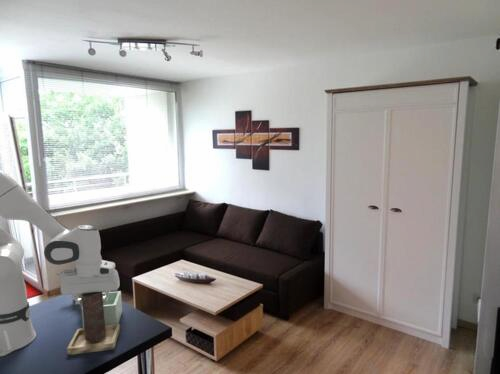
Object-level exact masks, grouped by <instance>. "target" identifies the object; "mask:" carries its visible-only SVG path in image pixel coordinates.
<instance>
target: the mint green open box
mask: <svg viewBox="0 0 500 374" xmlns="http://www.w3.org/2000/svg"><path fill="white" fill-rule="evenodd" d="M102 296H106V294H105V292H103V293H102ZM103 307H104V318H105V326H108V325H117V324H120V320H121V316H122V314H123V303H122V291H121V290H115V291H110V293H109V295H108V301H107V302H103ZM81 319H82V328H84V318H83V307H82V309H81Z"/></svg>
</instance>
